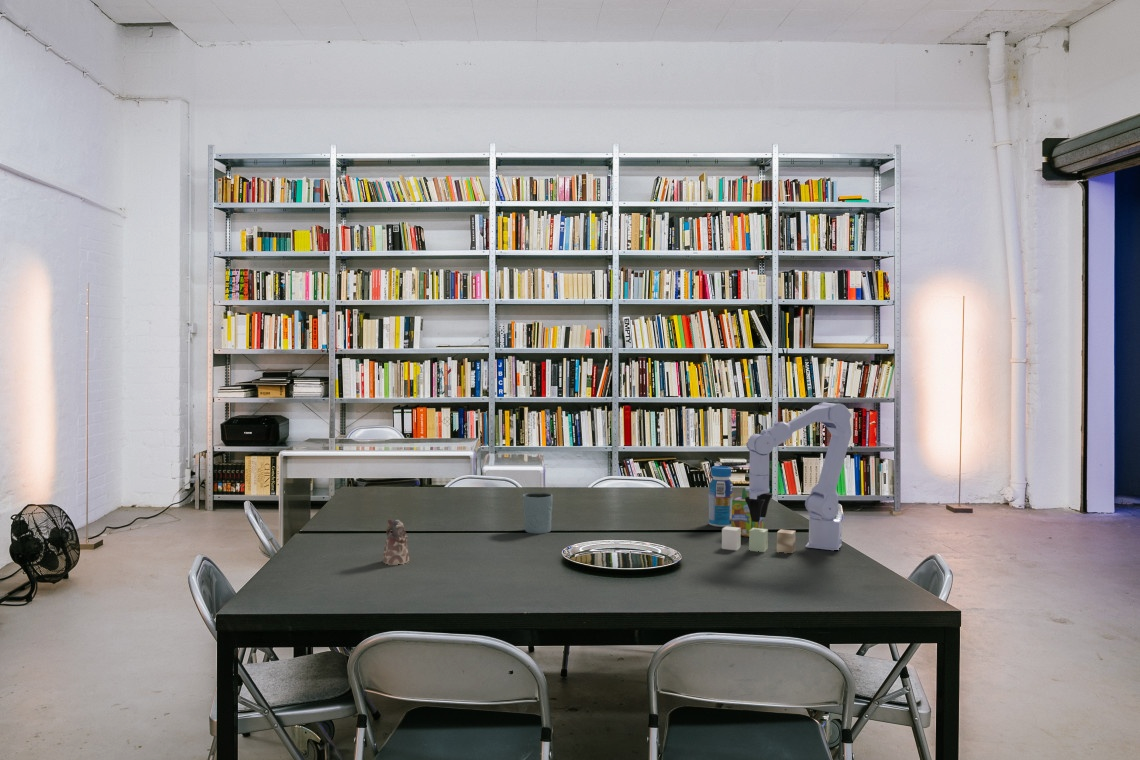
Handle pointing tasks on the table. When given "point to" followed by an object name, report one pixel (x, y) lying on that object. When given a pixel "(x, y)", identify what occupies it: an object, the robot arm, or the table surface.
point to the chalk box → (744, 515)
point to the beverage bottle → (720, 497)
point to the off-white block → (731, 538)
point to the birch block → (786, 541)
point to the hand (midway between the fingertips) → (758, 519)
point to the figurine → (396, 544)
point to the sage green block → (758, 539)
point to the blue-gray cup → (537, 512)
